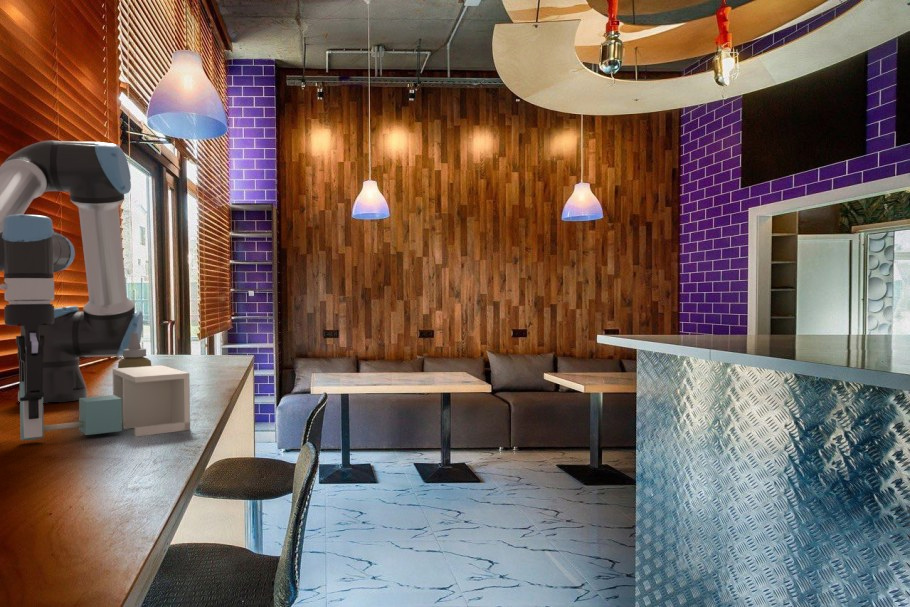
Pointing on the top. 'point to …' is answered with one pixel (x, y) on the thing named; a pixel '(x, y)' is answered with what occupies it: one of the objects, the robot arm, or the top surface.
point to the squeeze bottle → (134, 354)
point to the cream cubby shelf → (153, 399)
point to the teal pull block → (85, 416)
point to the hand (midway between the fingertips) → (31, 434)
